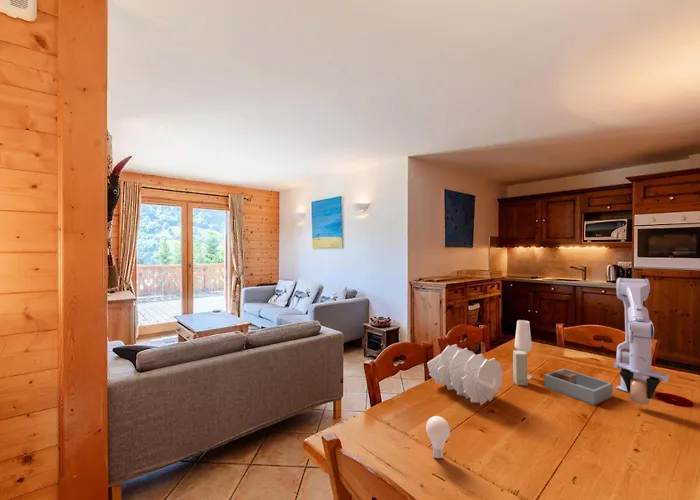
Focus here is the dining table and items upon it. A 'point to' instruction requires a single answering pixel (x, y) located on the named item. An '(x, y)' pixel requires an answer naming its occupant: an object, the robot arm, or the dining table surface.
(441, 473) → the dining table surface
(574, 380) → the walnut cube
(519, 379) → the box
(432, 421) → the lightbulb
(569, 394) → the tote
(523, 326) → the champagne flute
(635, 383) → the peach capsule
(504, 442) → the dining table surface
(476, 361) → the spiral staircase
